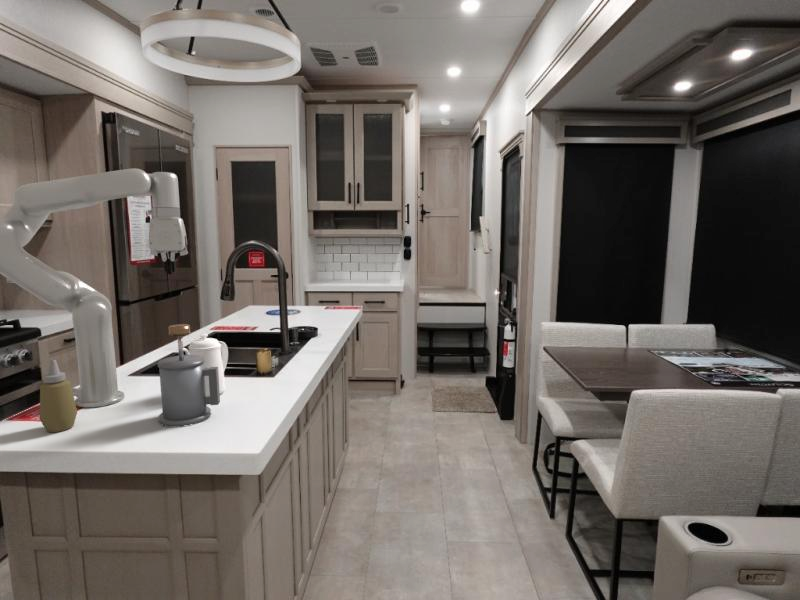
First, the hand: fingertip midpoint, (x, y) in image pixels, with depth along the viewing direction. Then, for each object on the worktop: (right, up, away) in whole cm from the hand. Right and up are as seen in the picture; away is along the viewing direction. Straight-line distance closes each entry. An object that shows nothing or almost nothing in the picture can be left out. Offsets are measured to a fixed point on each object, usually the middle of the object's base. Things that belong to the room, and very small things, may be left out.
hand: (170, 274), depth 155 cm
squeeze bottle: (-17, -41, -26) cm, 52 cm away
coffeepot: (+11, -38, +1) cm, 39 cm away
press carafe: (+14, -40, -18) cm, 46 cm away
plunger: (+12, -24, -21) cm, 34 cm away
